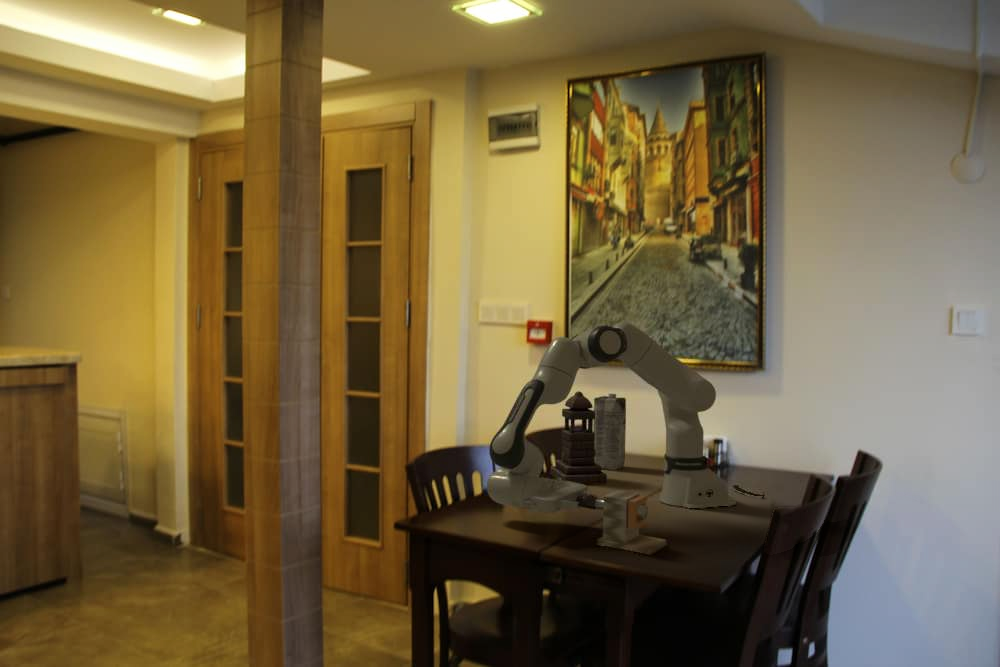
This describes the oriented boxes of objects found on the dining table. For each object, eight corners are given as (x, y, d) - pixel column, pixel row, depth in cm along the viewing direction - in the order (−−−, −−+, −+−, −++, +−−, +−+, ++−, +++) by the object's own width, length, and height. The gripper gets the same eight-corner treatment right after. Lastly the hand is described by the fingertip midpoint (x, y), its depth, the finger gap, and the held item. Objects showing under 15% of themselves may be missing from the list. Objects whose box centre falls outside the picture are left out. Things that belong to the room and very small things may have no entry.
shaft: (576, 507, 209) (576, 495, 209) (581, 505, 212) (582, 493, 211) (642, 519, 199) (643, 506, 199) (648, 516, 201) (648, 504, 201)
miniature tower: (607, 483, 270) (608, 393, 269) (564, 485, 267) (565, 394, 266) (590, 473, 286) (592, 388, 285) (549, 475, 283) (551, 389, 282)
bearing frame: (597, 545, 202) (598, 496, 202) (615, 535, 210) (616, 488, 210) (649, 555, 194) (651, 504, 194) (666, 545, 202) (667, 496, 202)
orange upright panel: (628, 529, 199) (628, 501, 199) (640, 523, 205) (640, 495, 204) (634, 530, 198) (634, 502, 198) (645, 524, 204) (646, 496, 204)
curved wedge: (743, 500, 253) (743, 495, 252) (731, 490, 266) (731, 485, 266) (770, 500, 252) (770, 495, 252) (757, 490, 266) (757, 485, 266)
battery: (616, 471, 290) (618, 396, 288) (590, 468, 295) (591, 393, 294) (627, 467, 297) (628, 393, 296) (601, 464, 303) (602, 391, 302)
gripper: (519, 490, 208) (567, 497, 200) (559, 476, 225) (605, 482, 217) (519, 514, 208) (567, 523, 201) (559, 498, 225) (604, 506, 218)
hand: (587, 502), depth 209 cm, fingers open, 8 cm apart
